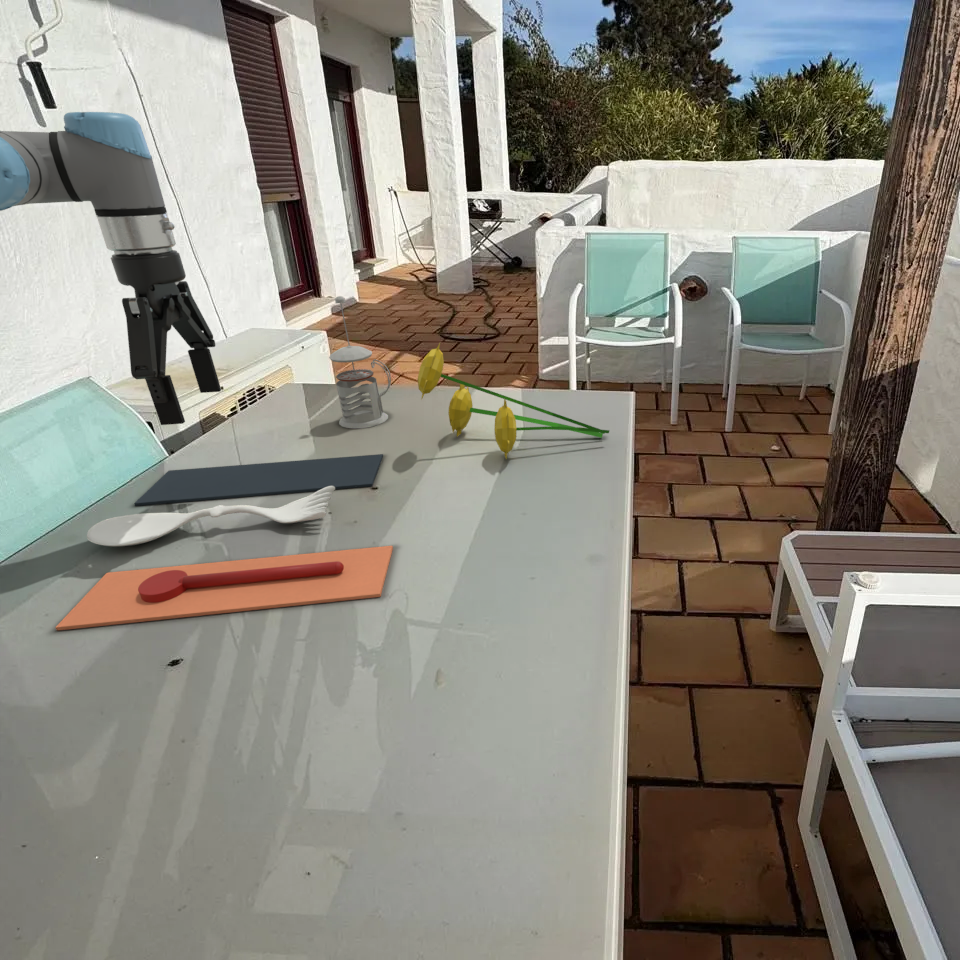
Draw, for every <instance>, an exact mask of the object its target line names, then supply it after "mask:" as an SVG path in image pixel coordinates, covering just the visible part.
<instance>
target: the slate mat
mask: <svg viewBox="0 0 960 960" xmlns="http://www.w3.org/2000/svg"><path fill="white" fill-rule="evenodd" d="M383 459H384V453H379V454H366V455H365V454H364V455H355V456H353V455H352V456H342V457H341V456H340V457H327V458H316V459H301V460H289V461H287V460H286V461H275V462H263V463H250V464H249V463H248V464H237V465H235V464H234V465H224V466H212V467H211V466H209V467H199V468H198V467H197V468H196V467H195V468H186V469H184V468H183V469H173V470H171V469H169V470H168V471H167V472H166V473H164V474H163V475H162V476H161V477H160V478H159V479H158V480H157V481H156V482H155V483H154V484H153V485H152V486H151V487H149V489H147V491H146V492H144V494H142V495H141V496H140V497H139V498H138V499H137V500H136V501H135V502H134V504H133V505H134V506H135V507H139V506H153V505H165V504H175V503H189V502H201V501H212V500H225V499H237V498H238V499H239V498H249V497H259V496H261V497H262V496H273V495H284V494H285V495H286V494H295V493H296V494H298V493H309V492H317V491H319V490H321V489H323V488H325V487H328V486H334V487H335V490H345V489H346V490H347V489H358V488H368V487H373V486H374V484H375V480H376V477H377V475H378V472H379V470H380V467H381V464H382V462H383Z"/></svg>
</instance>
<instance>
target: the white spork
mask: <svg viewBox="0 0 960 960" xmlns="http://www.w3.org/2000/svg"><path fill="white" fill-rule="evenodd" d="M335 490H336V489H335V487H334V486H328V487H325V488H323V489H321V490H319V491H314V492H313V493H311V494H309V495H307V496H305V497H302V498H299V499H296V500H293V501H291V502H288V503H286V504H285V505H281V506H279V507H275V508H271V507H269V508H268V507H262V506H256V505H249V504H236V505H223V504H219V505H215V506H213V507H209V508H204V509H199V510H196V511H192V512H188V513H187V512H186V513H182V512H148V513H147V512H145V513H144V512H143V513H134V514H126V515H125V514H124V515H119V516H114V517H109V518H107V519H103V520H101V521H99V522H97V523H95V524H93V525H92V526H91V527H90V528H89V529H88V531H87V532H86V539H87V540H88V541H89V542H90V543H92V544H96V545H99V546H102V547H103V546H104V547H125V546H135V545H136V546H137V545H140V544H144V543H145V544H146V543H148V542H151V541H154V540H157V539H158V538H161V537H164V536H166V535H168V534H170V533H172V532H173V531H176V530H177V529H179V528H181V527H182V526H184V525H186V524H189V523H190V522H192V521H194V520H198V519H200V518H201V519H202V518H205V517H211V518H219V517H221V516H226V515H231V514H239V513H241V514H252V515H255V516H260V517H262V518H266V519H268V520H271V521H273V522H277V523H280V524H293V523H300V522H301V523H302V522H308V521H314V520H318V519H322V518H324V517H325V516H326V515H327V508H328V507H327V506H328V504H329V503H328V501H329V500H331V496H332V495H333V492H334V491H335Z"/></svg>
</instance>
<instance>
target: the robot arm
mask: <svg viewBox="0 0 960 960" xmlns="http://www.w3.org/2000/svg"><path fill="white" fill-rule="evenodd" d="M63 122H64V126H63V129H64V130H57V131H50V132H48V131H47V132H46V131H20V130H19V131H14V130H13V131H12V130H11V131H10V130H9V131H8V130H0V212H2V211H5V210H8V209H11V208H12V207H17V206H24V205H31V204H32V205H33V204H50V203H51V204H54V203H73V202H75V203H83V202H90V203H91V205H92V207H93V210H94V214H95V216H96V219H97V222H98V226H99V229H100V231H101V235H102V238H103V241H104V244H105V247H106V249H107V250H109V251H113V254H112V255H111V257H110V260H111V264H112V267H113V270H114V272H115V275H116V278H117V282H118V283H119V284H121V285H122V286H126V287H131V288H133V291H134V296H135V297H122V299H121V303H122V307H123V312H124V315H125V319H126V330H127V341H128V353H129V363H130V373H131V376H132V378H133V379H135V380H145V382H146V383H145V384H146V385H147V389H148V391H149V395H150V396H151V397H150V398H151V400H152V403H153V406H154V408H155V409H154V410H155V412H156V415H157V418H158V420H159V423H160V426H167V425H182V424H185V422H186V420H185V417H184V413H183V410H182V407H181V404H180V401H179V398H178V395H177V392H176V389H175V386H174V383H173V380H172V377H171V375H170V374H166V367H167V363H166V362H167V348H168V347H167V345H168V332H169V331H171V330H172V327H173V328H174V330H175V332H177V334H179V336H180V337H181V338H182V339H183V340H184V342H185V343H186V344H187V345H188V346H189V348H190V349H188V350H187V353H188V356H189V360H190V363H191V366H192V369H193V373H194V376H195V379H196V383H197V386H198V389H199V392H200V394H205V393H207V394H208V393H219V392H221V391H222V388H221V384H220V381H219V378H218V377H219V376H218V374H217V371H216V367H215V364H214V361H213V357H212V353H211V350H210V348H215V347H216V341H215V339H214V334H213V333H212V331H211V329H210V327H209V325H208V323H207V321H206V319H205V317H204V316H203V314H202V312H201V310H200V308H199V306H198V303H197V302H196V300H195V299H194V297H193V294H192V292H191V288H190V286H189V284H188V282H187V281H186V280H185V279H186V271H185V268H184V264H183V261H182V258H181V254H180V252H178V251H177V250H175V249H173V247H175V246H176V243H177V242H176V240H175V236H174V232H173V230H174V229H175V228H176V227H175V224H174V223H173V222H171V221H170V219H169V215H168V211H167V208H166V204H165V200H164V196H163V193H162V190H161V185H160V182H159V179H158V175H157V172H156V168H155V165H154V160H153V156H152V154H151V152H150V150H149V147H148V144H147V143H148V142H147V140H146V138H145V135H144V132H143V129H142V127H141V124H140V122H139V121H138V120H136V119H135V118H134V117H133V116H131V115H129V114H126V113H121V112H107V111H106V112H105V111H72V112H71V111H70V112H66V113H65V114H64V115H63Z"/></svg>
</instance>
